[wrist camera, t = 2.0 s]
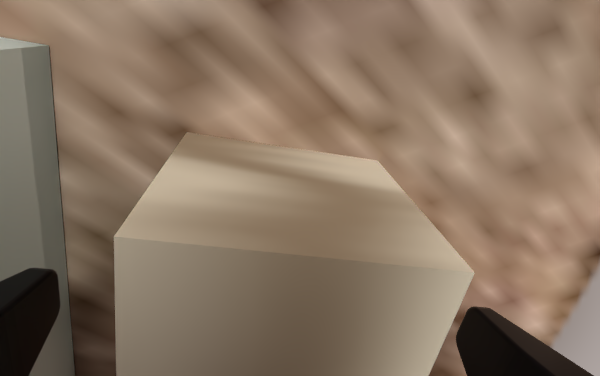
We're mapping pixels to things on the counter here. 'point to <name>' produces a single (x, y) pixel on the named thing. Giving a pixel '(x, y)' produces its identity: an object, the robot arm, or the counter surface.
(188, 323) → the maple cube
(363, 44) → the counter surface
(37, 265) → the box
